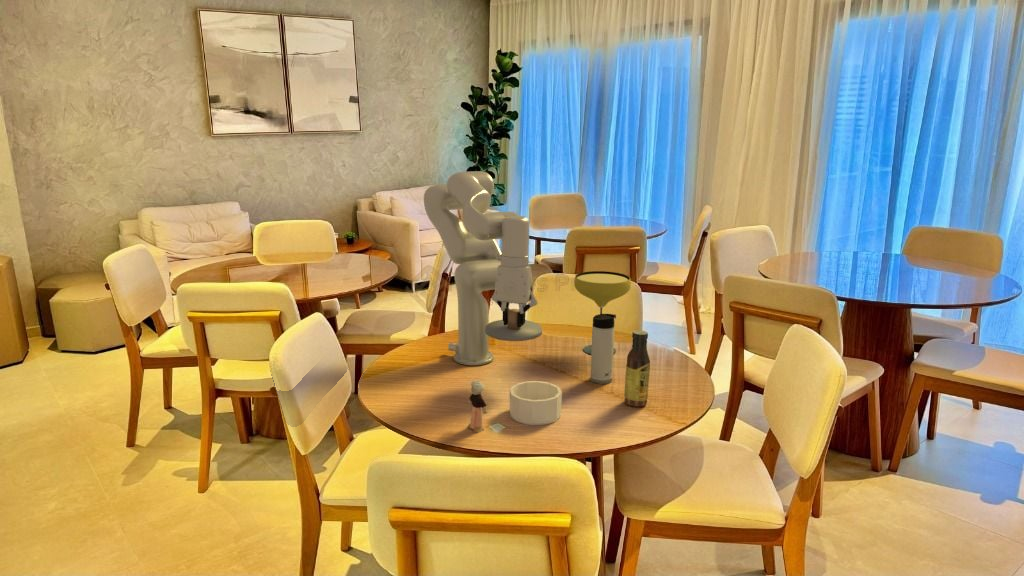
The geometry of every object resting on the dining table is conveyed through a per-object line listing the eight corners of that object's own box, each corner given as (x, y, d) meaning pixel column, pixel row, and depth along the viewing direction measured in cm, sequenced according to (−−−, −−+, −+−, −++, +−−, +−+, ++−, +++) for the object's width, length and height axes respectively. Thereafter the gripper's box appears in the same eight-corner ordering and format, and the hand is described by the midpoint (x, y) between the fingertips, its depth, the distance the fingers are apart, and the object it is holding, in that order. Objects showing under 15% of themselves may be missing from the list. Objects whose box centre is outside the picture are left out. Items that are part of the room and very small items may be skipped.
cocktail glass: (594, 338, 233) (597, 268, 227) (637, 350, 220) (642, 277, 214) (561, 350, 220) (563, 276, 214) (605, 364, 208) (608, 286, 202)
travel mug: (612, 385, 191) (615, 318, 186) (589, 383, 192) (592, 316, 188) (613, 377, 197) (616, 312, 192) (591, 375, 198) (593, 310, 194)
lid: (477, 337, 182) (477, 315, 181) (495, 320, 197) (495, 300, 195) (533, 343, 178) (534, 321, 176) (548, 326, 193) (548, 305, 191)
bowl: (501, 419, 168) (502, 395, 167) (521, 400, 180) (522, 378, 178) (550, 429, 163) (550, 404, 162) (567, 409, 175) (568, 386, 173)
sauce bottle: (642, 409, 175) (646, 338, 170) (620, 404, 178) (623, 333, 173) (651, 401, 180) (655, 331, 175) (629, 396, 183) (633, 327, 179)
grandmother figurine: (460, 426, 164) (460, 378, 161) (472, 421, 167) (472, 374, 164) (481, 436, 159) (481, 387, 156) (493, 431, 162) (493, 383, 159)
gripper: (481, 260, 182) (481, 324, 187) (538, 267, 176) (536, 333, 180) (493, 255, 189) (492, 317, 193) (548, 261, 182) (546, 325, 187)
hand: (513, 324), depth 187 cm, fingers closed on lid, 3 cm apart
